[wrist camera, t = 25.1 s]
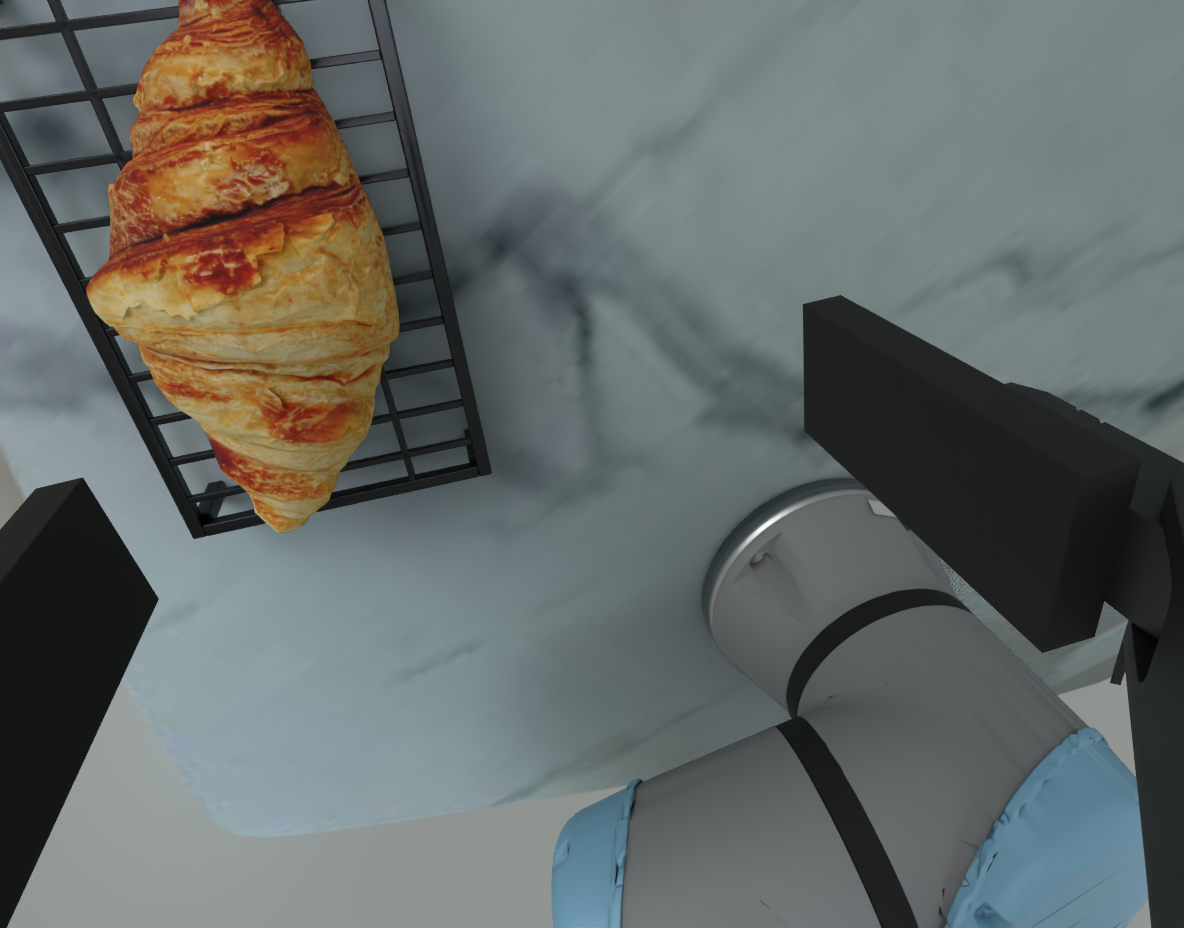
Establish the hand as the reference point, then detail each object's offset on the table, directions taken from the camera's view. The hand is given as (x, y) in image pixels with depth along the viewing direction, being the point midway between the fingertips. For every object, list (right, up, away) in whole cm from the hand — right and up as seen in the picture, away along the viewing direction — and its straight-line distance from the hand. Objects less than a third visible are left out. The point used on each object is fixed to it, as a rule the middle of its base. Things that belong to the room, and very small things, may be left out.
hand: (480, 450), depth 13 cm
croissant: (-11, +7, +15) cm, 20 cm away
